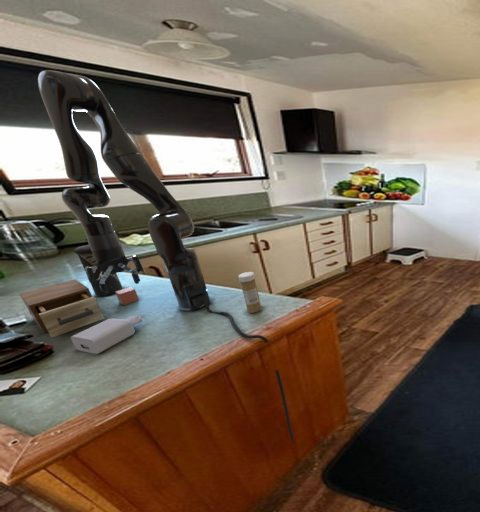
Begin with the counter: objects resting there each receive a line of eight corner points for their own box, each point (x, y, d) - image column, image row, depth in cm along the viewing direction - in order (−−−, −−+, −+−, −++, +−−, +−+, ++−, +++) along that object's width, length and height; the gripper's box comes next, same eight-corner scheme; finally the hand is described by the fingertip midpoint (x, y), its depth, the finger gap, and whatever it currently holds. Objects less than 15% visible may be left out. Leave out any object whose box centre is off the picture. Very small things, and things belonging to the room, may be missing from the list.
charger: (156, 323, 87) (99, 354, 73) (134, 320, 89) (76, 350, 75) (151, 310, 85) (92, 340, 71) (129, 307, 87) (68, 335, 74)
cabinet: (100, 313, 94) (88, 288, 91) (44, 333, 84) (28, 305, 80) (86, 302, 102) (75, 279, 98) (33, 319, 92) (19, 293, 88)
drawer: (109, 322, 87) (99, 300, 84) (55, 342, 77) (42, 319, 75) (91, 307, 96) (81, 287, 93) (41, 324, 87) (29, 302, 84)
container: (105, 297, 105) (84, 249, 98) (88, 296, 107) (66, 248, 100) (129, 287, 113) (111, 242, 106) (112, 286, 115) (93, 241, 108)
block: (139, 299, 102) (135, 289, 101) (123, 305, 99) (119, 294, 97) (134, 297, 105) (130, 286, 103) (119, 302, 101) (114, 291, 99)
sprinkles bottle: (262, 305, 95) (254, 270, 90) (261, 312, 91) (253, 275, 86) (247, 308, 93) (239, 272, 89) (246, 314, 89) (237, 277, 85)
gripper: (80, 253, 86) (99, 298, 92) (135, 241, 98) (150, 282, 103) (73, 250, 90) (92, 293, 96) (127, 239, 101) (142, 278, 107)
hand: (122, 287), depth 100 cm, fingers open, 8 cm apart
